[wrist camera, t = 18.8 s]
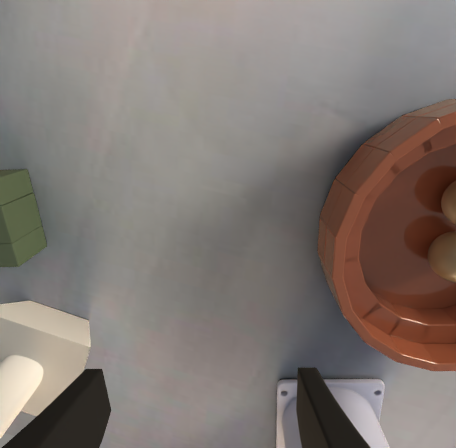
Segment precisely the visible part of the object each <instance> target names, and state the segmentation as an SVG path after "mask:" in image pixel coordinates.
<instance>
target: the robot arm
mask: <svg viewBox="0 0 456 448" xmlns="http://www.w3.org/2000/svg"><path fill="white" fill-rule="evenodd" d="M384 389H385V385H384V383H383V382H382V380H380V379H323V378H322V377H321V375H320V373H319V371H318V370H317V369H316V368H298V379H287V380H280V381H278V383H277V412H276V448H390V447H389V445H388V443H387V440H386V438H385V436H384V434H383V431H382V429H381V427H380V424H379V420H380V414H381V408H382V401H383V395H384ZM377 390H378V391H377ZM282 391H284V392H282ZM110 412H111V407H110V403H109V398H108V394H107V389H106V385H105V380H104V375H103V371H102V369H86V370H85V371H83V372H82V373H81V374H80V375H79V376H78V377H77V378H76V379H75V380H74V381H73V382H72V383H71V384H70V385H69V386H68V387H67V388H66V389H65V390H64V391H63V392H62V393H61V394H60V395H59V396H58V397H57V398H56V399H55V400H54V401H53V402H52V403H51V404H49V405H48V406H47V407H46V408H45V409H44V410H43V411H42V412H41V413H40V414H39V415H38V416H37V417H36V418H35V419H34V420H33V421H31V422H30V423H29V424H28V425H27V426H26V427H25V428H24V429H22V430H21V431H20V432H19V433H18V434H17V435H16V436H15V437H13V438H12V439H11V440H10V441H9V442H8V443H7V444H6V445H4V446H3V447H2V448H99V447H100V444H101V442H102V439H103V436H104V433H105V429H106V426H107V423H108V419H109V416H110Z"/></svg>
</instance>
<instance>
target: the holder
mask: <svg viewBox="0 0 456 448" xmlns="http://www.w3.org/2000/svg"><path fill="white" fill-rule="evenodd" d="M41 225H42V223H41V219H40V215H39V211H38V207H37V203H36V199H35V195H34V193H33V189H32V185H31V181H30V177H29V173H28V170H27V169H18V170H0V267H19V266H20V265H22V264H23V263H25V262H26V261H27V260H29V259H30V258H31V257H33V256H34V255H36V254H37V253H38V252H40V251H41V250H42V249H44V248H45V247H47V243H46V239H45V235H44V231H43V227H42V226H41Z"/></svg>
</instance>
